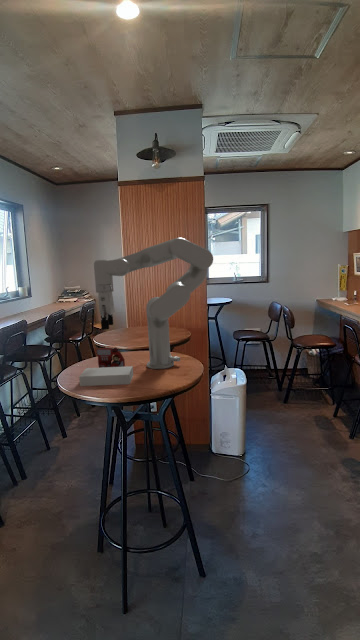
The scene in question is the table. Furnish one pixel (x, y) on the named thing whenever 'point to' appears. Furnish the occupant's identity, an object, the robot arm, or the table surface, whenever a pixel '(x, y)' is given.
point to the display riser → (106, 376)
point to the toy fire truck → (110, 358)
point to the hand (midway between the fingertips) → (107, 327)
